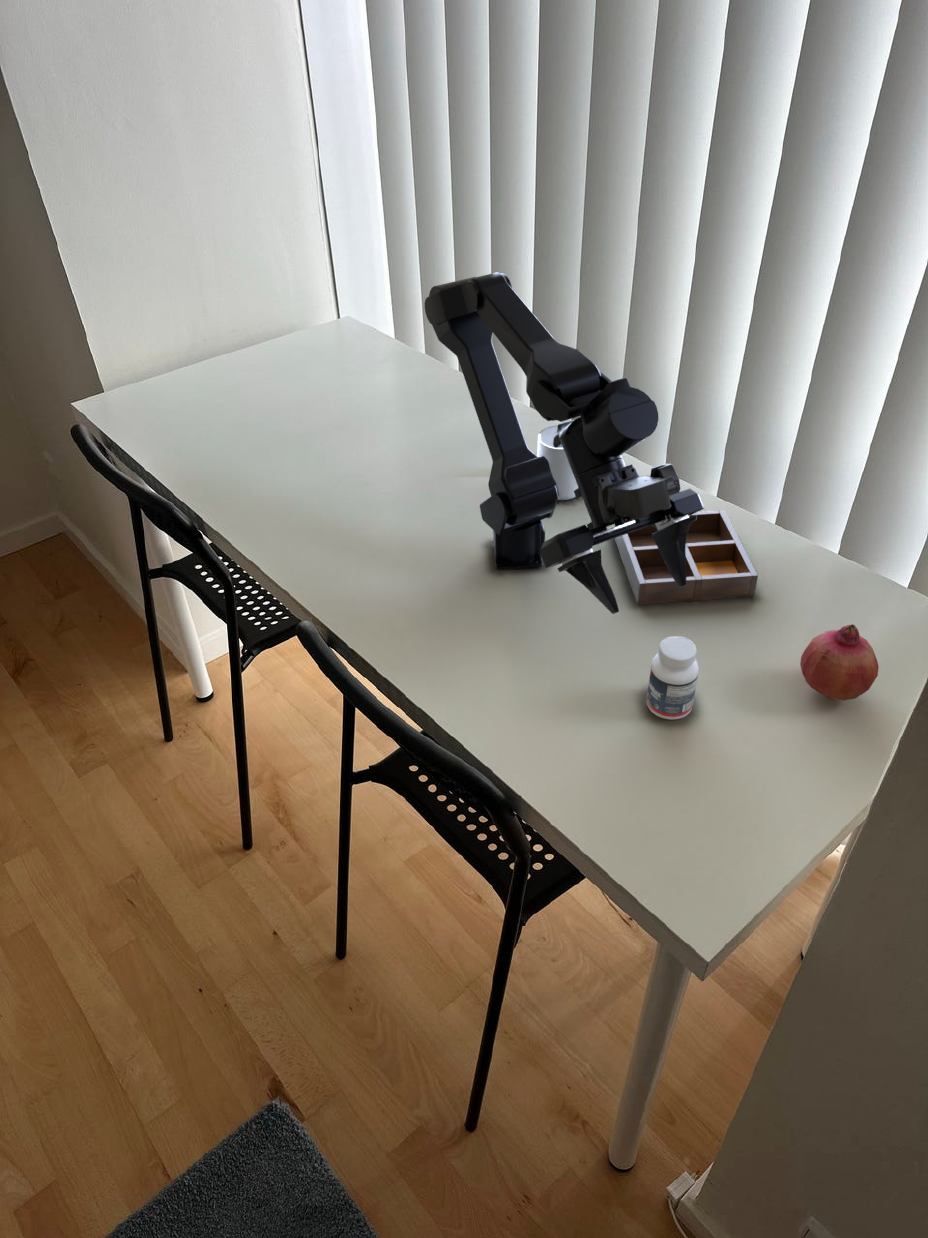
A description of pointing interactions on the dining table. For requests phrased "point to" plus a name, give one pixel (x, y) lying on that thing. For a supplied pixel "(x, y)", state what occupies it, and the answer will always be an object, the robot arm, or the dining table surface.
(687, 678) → the pill bottle
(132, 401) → the dining table surface
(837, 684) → the fruit
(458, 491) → the dining table surface
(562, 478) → the cup
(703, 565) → the divided tray
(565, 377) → the robot arm
